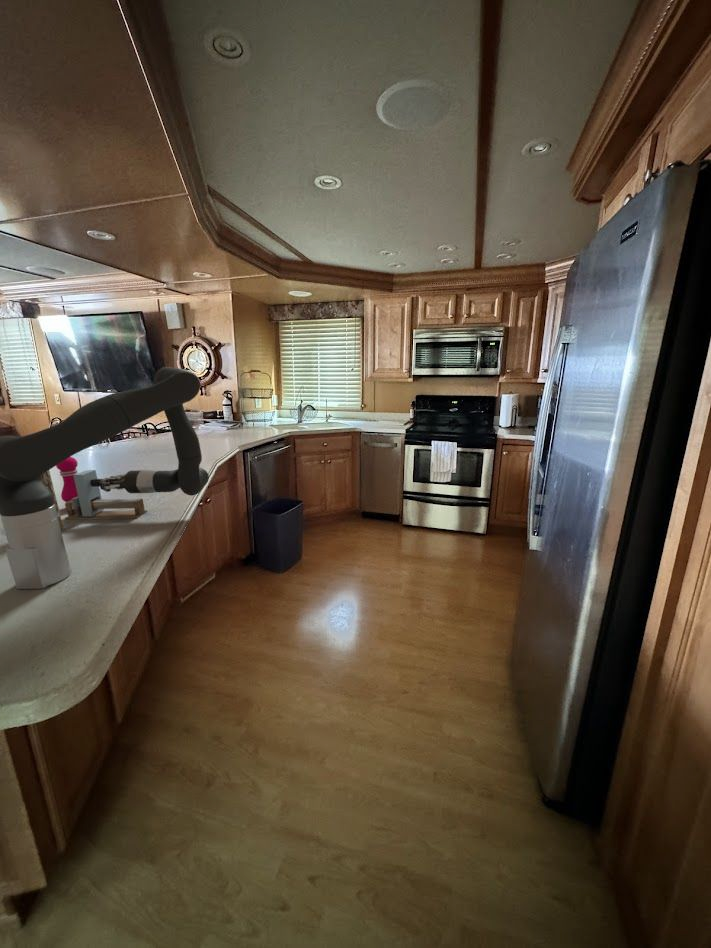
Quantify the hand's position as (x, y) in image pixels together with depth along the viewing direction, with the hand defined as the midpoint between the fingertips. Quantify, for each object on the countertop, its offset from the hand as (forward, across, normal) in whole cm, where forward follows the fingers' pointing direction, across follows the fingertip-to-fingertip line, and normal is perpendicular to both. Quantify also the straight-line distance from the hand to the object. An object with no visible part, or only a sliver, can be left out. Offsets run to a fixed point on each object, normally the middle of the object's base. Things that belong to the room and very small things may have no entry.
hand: (92, 482), depth 123 cm
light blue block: (+2, 0, +12) cm, 12 cm away
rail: (-3, 0, +12) cm, 12 cm away
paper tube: (+7, +12, +12) cm, 18 cm away
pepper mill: (+14, -9, +12) cm, 21 cm away
